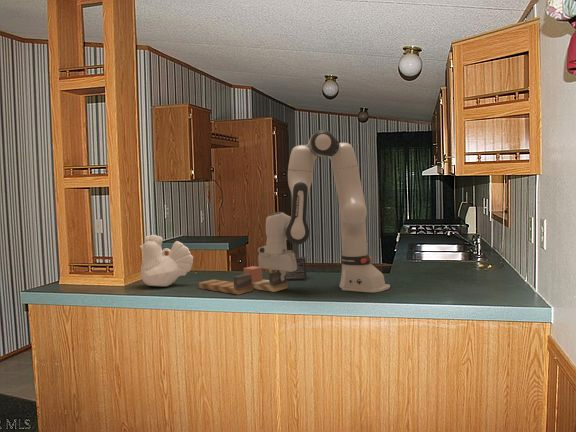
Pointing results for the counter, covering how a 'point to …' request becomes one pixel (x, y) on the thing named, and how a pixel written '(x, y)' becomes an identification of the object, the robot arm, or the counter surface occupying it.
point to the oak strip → (230, 285)
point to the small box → (298, 270)
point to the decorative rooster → (163, 261)
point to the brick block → (254, 273)
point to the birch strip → (267, 287)
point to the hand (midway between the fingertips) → (278, 279)
